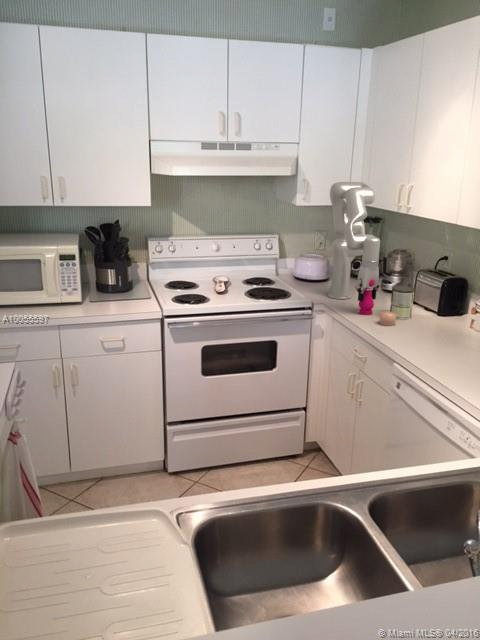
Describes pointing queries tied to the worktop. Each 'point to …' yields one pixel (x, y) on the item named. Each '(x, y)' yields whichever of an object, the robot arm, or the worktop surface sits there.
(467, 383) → the worktop surface
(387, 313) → the pale pink round lump
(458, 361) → the worktop surface
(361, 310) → the pepper mill
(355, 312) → the worktop surface
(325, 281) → the worktop surface
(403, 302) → the green cylindrical container
